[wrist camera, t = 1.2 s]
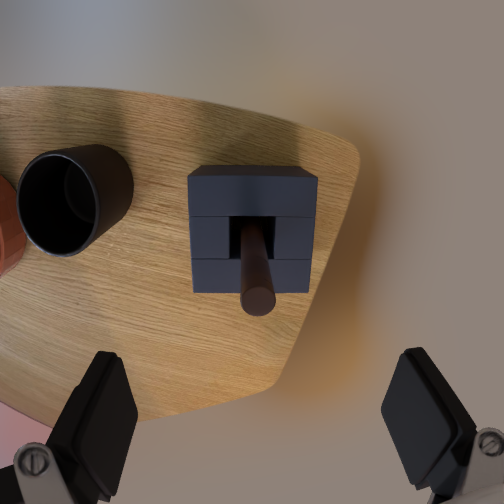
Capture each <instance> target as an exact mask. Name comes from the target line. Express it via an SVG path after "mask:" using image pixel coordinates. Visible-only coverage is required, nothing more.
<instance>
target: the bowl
mask: <svg viewBox="0 0 504 504" xmlns="http://www.w3.org/2000/svg"><path fill="white" fill-rule="evenodd" d="M25 246H26V233H25V232H24V230H23V228H22V225H21V223H20V220H19V217H18V213H17V205H16V192H15V191H14V189H13V188H12V186H11V184H10V183H9V182H8V181H7V180H6V179H5V178H4V177H2V176H1V175H0V278H2V277H3V276H4V275H5V274H7V273H8V272H9V271H10V270H12V269H13V268H14V267H15V266H16V265H17V264H18V262H19V261H20V260H21V258H22V255H23V252H24V249H25Z"/></svg>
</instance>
